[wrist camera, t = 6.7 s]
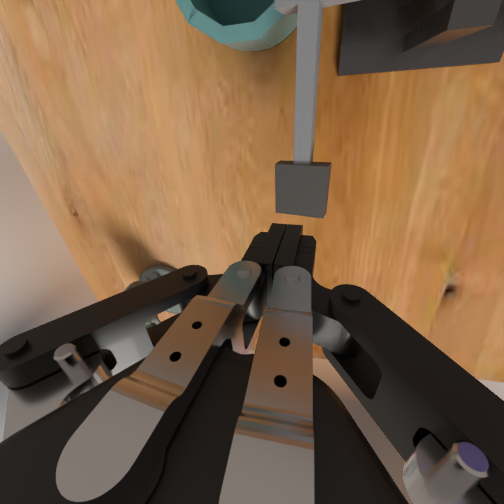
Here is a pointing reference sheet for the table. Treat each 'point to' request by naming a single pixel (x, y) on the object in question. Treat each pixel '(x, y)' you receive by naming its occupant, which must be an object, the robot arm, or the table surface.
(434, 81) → the table surface
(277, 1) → the chute
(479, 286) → the table surface
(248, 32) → the cup
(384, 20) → the stand
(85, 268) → the table surface
